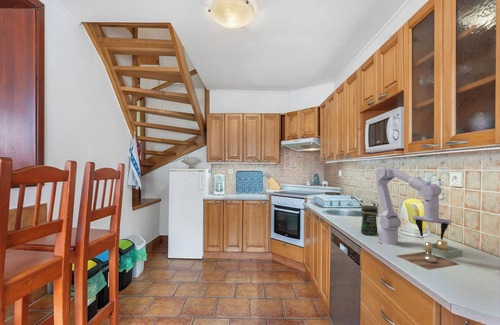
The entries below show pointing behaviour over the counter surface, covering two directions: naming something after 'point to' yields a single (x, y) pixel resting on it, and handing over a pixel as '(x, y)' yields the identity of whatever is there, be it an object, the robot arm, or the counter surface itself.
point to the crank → (429, 253)
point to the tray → (450, 252)
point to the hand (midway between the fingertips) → (431, 237)
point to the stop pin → (442, 245)
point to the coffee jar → (369, 220)
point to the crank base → (419, 260)
